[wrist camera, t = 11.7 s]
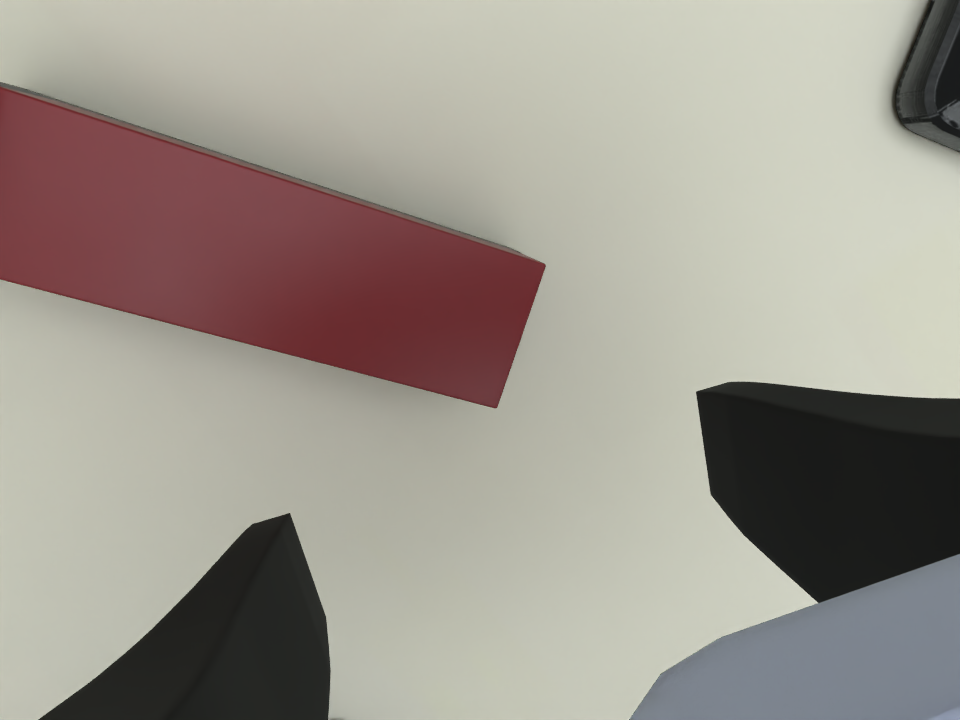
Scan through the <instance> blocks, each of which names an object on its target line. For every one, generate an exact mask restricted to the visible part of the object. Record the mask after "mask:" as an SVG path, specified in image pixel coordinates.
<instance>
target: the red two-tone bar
mask: <svg viewBox="0 0 960 720" xmlns="http://www.w3.org/2000/svg"><path fill="white" fill-rule="evenodd" d="M545 267H546V265H545V264H544V263H542V262H539V261H537V260H535V259H532V258H530V257H528V256H525V255H523V254H521V253H520V252H518V251H516V250H514V249H511V248H509V247H506V246H503V245H500V244H497V243H494V242H491V241H487V240H484V239H481V238H478V237H475V236H472V235H469V234H466V233H463V232H460V231H457V230H454V229H451V228H448V227H445V226H442V225H439V224H436V223H433V222H429V221H426V220H423V219H420V218H417V217H414V216H411V215H408V214H405V213H402V212H399V211H396V210H393V209H390V208H387V207H384V206H381V205H378V204H375V203H371V202H368V201H365V200H362V199H359V198H356V197H353V196H350V195H347V194H344V193H341V192H338V191H335V190H332V189H329V188H326V187H323V186H320V185H317V184H313V183H310V182H307V181H304V180H301V179H298V178H295V177H292V176H289V175H286V174H283V173H280V172H277V171H274V170H271V169H268V168H265V167H262V166H259V165H255V164H252V163H249V162H246V161H243V160H240V159H237V158H234V157H231V156H228V155H225V154H222V153H219V152H216V151H213V150H210V149H207V148H204V147H201V146H197V145H194V144H191V143H188V142H185V141H182V140H179V139H176V138H173V137H170V136H167V135H164V134H161V133H158V132H155V131H152V130H149V129H146V128H143V127H139V126H136V125H133V124H130V123H127V122H124V121H121V120H118V119H115V118H112V117H109V116H106V115H103V114H100V113H97V112H94V111H91V110H88V109H85V108H81V107H78V106H75V105H72V104H69V103H66V102H63V101H60V100H57V99H54V98H51V97H48V96H45V95H42V94H39V93H36V92H33V91H30V90H27V89H23V88H20V87H17V86H13V85H9V84H6V83H2V82H0V279H1V280H5V281H8V282H12V283H16V284H20V285H24V286H28V287H31V288H35V289H39V290H43V291H47V292H51V293H54V294H58V295H62V296H66V297H70V298H74V299H77V300H81V301H85V302H89V303H93V304H97V305H100V306H104V307H108V308H112V309H116V310H120V311H123V312H127V313H131V314H135V315H139V316H143V317H146V318H150V319H154V320H158V321H162V322H166V323H169V324H173V325H177V326H181V327H185V328H189V329H192V330H196V331H200V332H204V333H208V334H212V335H215V336H219V337H223V338H227V339H231V340H235V341H239V342H242V343H246V344H250V345H254V346H258V347H262V348H265V349H269V350H273V351H277V352H281V353H285V354H288V355H292V356H296V357H300V358H304V359H308V360H311V361H315V362H319V363H323V364H327V365H331V366H334V367H338V368H342V369H346V370H350V371H354V372H357V373H361V374H365V375H369V376H373V377H377V378H380V379H384V380H388V381H392V382H396V383H400V384H403V385H407V386H411V387H415V388H419V389H423V390H426V391H430V392H434V393H438V394H442V395H446V396H449V397H453V398H457V399H461V400H465V401H469V402H472V403H476V404H480V405H484V406H488V407H492V408H497V407H498V404H499V401H500V398H501V395H502V392H503V389H504V386H505V383H506V381H507V378H508V375H509V372H510V369H511V366H512V363H513V360H514V357H515V354H516V351H517V348H518V346H519V343H520V340H521V337H522V334H523V331H524V328H525V325H526V322H527V319H528V316H529V314H530V311H531V308H532V305H533V302H534V299H535V296H536V293H537V290H538V287H539V284H540V281H541V279H542V276H543V273H544V270H545Z"/></svg>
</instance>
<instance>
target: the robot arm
mask: <svg viewBox="0 0 960 720" xmlns="http://www.w3.org/2000/svg"><path fill="white" fill-rule="evenodd" d="M696 394H697V401H698V408H699V415H700V422H701V429H702V436H703V443H704V450H705V457H706V464H707V471H708V478H709V485H710V492H711V495H712V497H713V498H714V499H715V500H716V502H717V503H718V504H719V505H720V507H721V508H722V509H723V511H724V512H725V513H726V514H727V516H728V517H729V518H730V519H731V521H732V522H733V523H734V524H735V525H736V526H737V528H738V529H739V530H740V531H741V532H742V533H743V535H744V536H745V537H747V538H748V539H749V540H750V541H751V542H752V543H753V544H754V545H755V546H756V547H757V548H758V549H759V550H760V551H762V552H763V553H764V554H765V555H766V556H767V557H768V558H769V559H770V560H771V561H772V562H774V563H775V564H776V565H777V566H778V567H779V568H780V569H781V570H782V571H783V572H785V573H786V574H787V575H788V576H789V577H790V578H791V579H792V580H794V581H795V582H796V583H797V584H798V585H799V586H800V587H801V588H802V589H804V590H805V591H806V592H807V593H808V594H809V595H810V596H811V597H812V598H814V599H815V600H816V601H817V602H818V604H815V605H812V606H809V607H806V608H804V609H801V610H798V611H795V612H792V613H789V614H786V615H783V616H781V617H778V618H775V619H772V620H769V621H766V622H763V623H761V624H758V625H755V626H752V627H749V628H746V629H743V630H741V631H738V632H735V633H732V634H729V635H726V636H723V637H721V638H719V639H717V640H715V641H714V642H712V643H710V644H709V645H707V646H705V647H704V648H702V649H700V650H699V651H697V652H696V653H694V654H692V655H691V656H689V657H687V658H686V659H684V660H682V661H681V662H679V663H677V664H676V665H674V666H673V667H671V668H669V669H668V670H666V671H664V672H663V673H662V674H660V676H659V677H658V679H657V680H656V682H655V683H654V684H653V686H652V687H651V689H650V690H649V692H648V693H647V695H646V696H645V698H644V699H643V700H642V702H641V703H640V705H639V706H638V708H637V709H636V711H635V712H634V713H633V715H632V716H631V718H630V719H629V720H960V399H947V398H913V397H898V396H884V395H871V394H860V393H850V392H840V391H831V390H822V389H814V388H805V387H797V386H788V385H779V384H769V383H757V382H727V383H724V384H721V385H717V386H714V387H710V388H707V389H704V390H700V391H697V392H696ZM329 693H330V657H329V644H328V633H327V623H326V616H325V613H324V610H323V607H322V604H321V602H320V599H319V596H318V593H317V590H316V587H315V584H314V581H313V578H312V576H311V573H310V570H309V567H308V564H307V561H306V558H305V555H304V552H303V549H302V547H301V544H300V541H299V538H298V535H297V532H296V529H295V526H294V523H293V521H292V518H291V515H290V513H288V514H285V515H282V516H278V517H275V518H272V519H268V520H265V521H262V522H258V523H255V524H252V525H251V526H250V527H249V528H247V529H246V530H245V531H244V532H243V533H242V534H241V535H240V536H239V537H238V539H237V540H236V541H235V542H234V543H233V544H232V545H231V546H230V547H229V548H228V550H227V551H226V552H225V553H224V554H223V555H222V556H221V557H220V559H219V560H218V561H217V562H216V563H215V564H214V565H213V566H212V567H211V568H210V570H209V571H208V572H207V573H206V574H205V575H204V576H203V577H202V578H201V580H200V581H199V582H198V583H197V584H196V585H195V586H194V587H193V588H192V589H191V590H190V591H189V592H188V593H187V594H186V595H185V596H184V597H183V598H182V599H181V600H180V601H179V602H178V603H177V604H176V605H175V606H174V607H173V608H172V610H171V611H170V612H169V613H168V614H167V615H166V616H165V617H164V618H163V619H162V620H161V621H160V622H159V623H158V624H157V625H156V626H155V627H154V628H153V629H152V630H150V631H149V632H148V633H147V634H146V635H145V636H144V637H143V638H142V639H141V640H140V641H139V642H137V643H136V644H135V645H134V646H133V647H132V648H131V649H130V650H128V651H127V652H126V653H125V654H124V655H123V656H121V657H120V658H119V659H118V660H117V661H115V662H114V663H113V664H112V665H111V666H109V667H108V668H107V669H106V670H104V671H103V672H102V673H101V674H100V675H98V676H97V677H96V678H95V679H93V680H92V681H91V682H90V683H88V684H87V685H86V686H84V687H83V688H82V689H80V690H79V691H77V692H76V693H75V694H73V695H72V696H70V697H69V698H68V699H66V700H65V701H63V702H62V703H61V704H59V705H58V706H57V707H55V708H54V709H52V710H51V711H50V712H48V713H47V714H45V715H44V716H43V717H41V718H40V719H39V720H328V712H329Z"/></svg>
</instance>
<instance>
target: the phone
mask: <svg viewBox="0 0 960 720" xmlns="http://www.w3.org/2000/svg"><path fill="white" fill-rule="evenodd" d="M896 108H897V112H898V115H899V118H900V120H901V121H902V123H903V124H904V126H905V127H906V128H908V129H909V130H911V131H912V132H914V133H916V134H919V135H921V136H923V137H926V138H928V139H931V140H933V141H935V142H938V143H940V144H942V145H945V146H947V147H950V148H952V149H954V150H957V151H959V152H960V0H932V2H931V4H930V7H929V9H928V12H927V14H926V17H925V19H924V22H923V24H922V27H921V29H920V32H919V34H918V37H917V39H916V42H915V44H914V47H913V49H912V52H911V54H910V57H909V59H908V62H907V64H906V67H905V69H904V72H903V74H902V77H901V79H900V82H899V85H898V89H897V93H896Z"/></svg>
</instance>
